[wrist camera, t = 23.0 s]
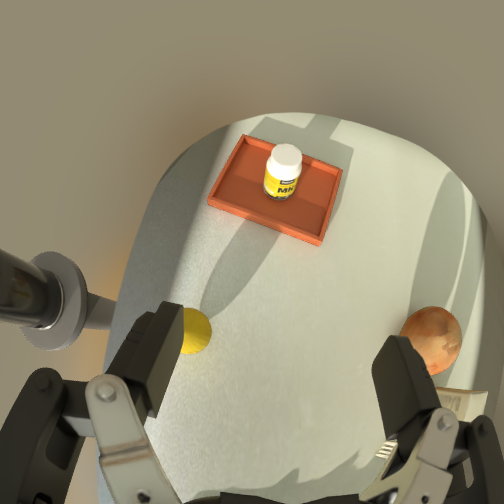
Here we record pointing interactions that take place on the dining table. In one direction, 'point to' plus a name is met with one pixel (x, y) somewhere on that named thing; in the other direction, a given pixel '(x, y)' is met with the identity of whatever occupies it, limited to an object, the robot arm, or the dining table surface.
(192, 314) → the lemon
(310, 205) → the tray
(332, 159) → the dining table surface
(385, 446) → the fork
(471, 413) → the cosmetic box
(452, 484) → the robot arm
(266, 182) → the supplement bottle
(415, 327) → the onion
